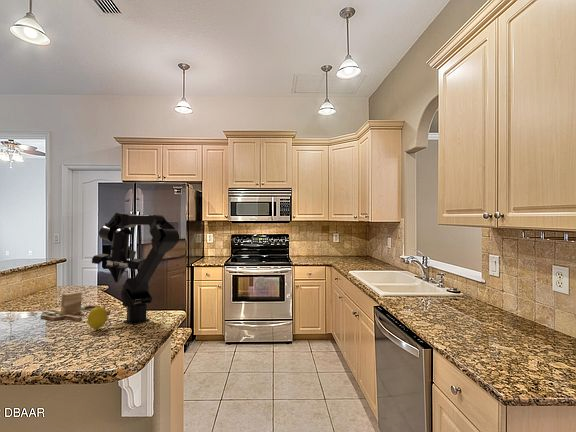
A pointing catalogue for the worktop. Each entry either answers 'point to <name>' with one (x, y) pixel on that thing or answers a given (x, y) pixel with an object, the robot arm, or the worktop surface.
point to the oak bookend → (69, 304)
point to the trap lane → (52, 315)
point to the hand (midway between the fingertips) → (117, 282)
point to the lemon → (97, 317)
